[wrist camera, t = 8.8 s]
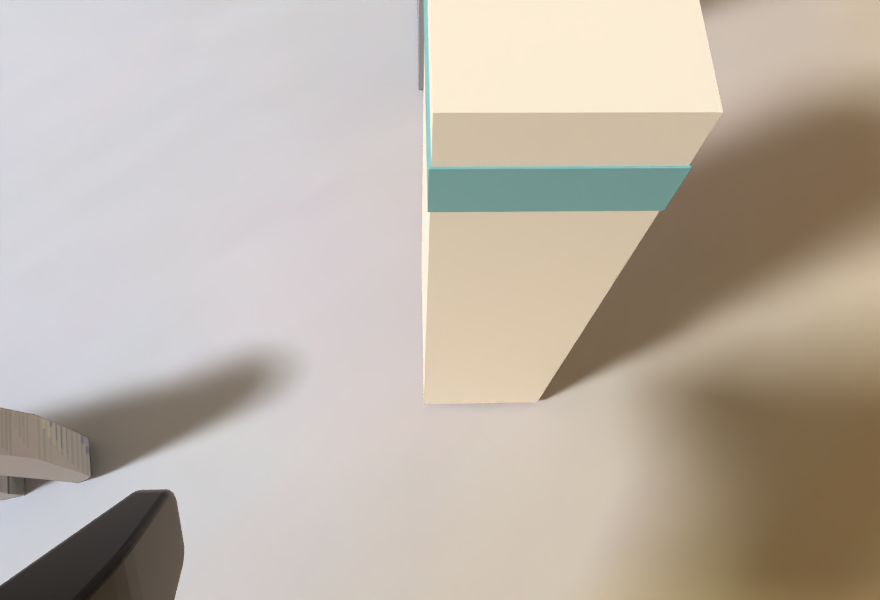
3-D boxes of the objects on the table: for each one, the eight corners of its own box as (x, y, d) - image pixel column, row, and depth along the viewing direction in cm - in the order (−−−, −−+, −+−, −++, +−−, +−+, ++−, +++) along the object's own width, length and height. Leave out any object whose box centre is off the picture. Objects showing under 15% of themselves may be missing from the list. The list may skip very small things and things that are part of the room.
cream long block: (538, 403, 19) (726, 114, 7) (422, 404, 19) (430, 115, 7) (527, 264, 20) (669, -155, 9) (420, 264, 20) (423, -157, 9)
